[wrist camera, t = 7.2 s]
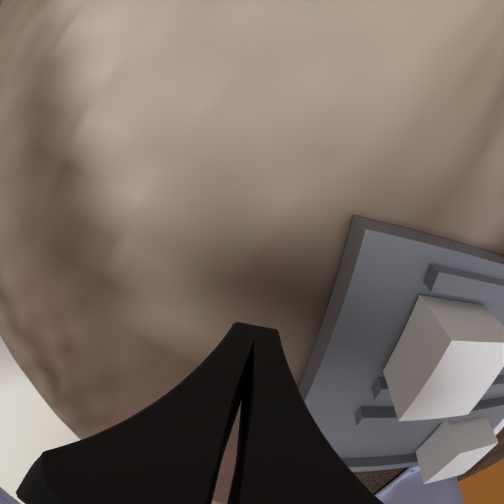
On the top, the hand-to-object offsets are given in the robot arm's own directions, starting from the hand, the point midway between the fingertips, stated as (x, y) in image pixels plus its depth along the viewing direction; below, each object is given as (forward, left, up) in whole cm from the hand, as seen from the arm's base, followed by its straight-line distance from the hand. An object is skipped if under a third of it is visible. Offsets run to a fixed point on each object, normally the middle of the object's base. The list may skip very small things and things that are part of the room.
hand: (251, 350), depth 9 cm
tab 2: (-8, -15, -2) cm, 17 cm away
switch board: (-4, -13, -4) cm, 14 cm away
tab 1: (0, -8, -2) cm, 8 cm away
